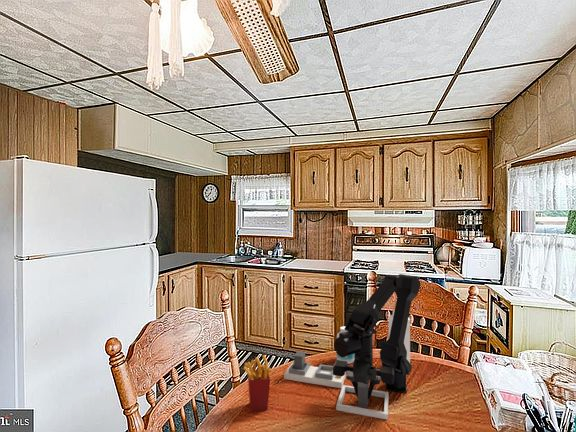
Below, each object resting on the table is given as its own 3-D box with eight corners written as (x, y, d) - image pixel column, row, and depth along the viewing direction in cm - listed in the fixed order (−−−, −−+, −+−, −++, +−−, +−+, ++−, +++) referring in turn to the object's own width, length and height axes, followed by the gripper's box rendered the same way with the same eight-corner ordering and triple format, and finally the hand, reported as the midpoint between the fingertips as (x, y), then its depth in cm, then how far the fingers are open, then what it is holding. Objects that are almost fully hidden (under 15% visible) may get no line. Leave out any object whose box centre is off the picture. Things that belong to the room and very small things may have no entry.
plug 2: (368, 400, 106) (368, 381, 106) (367, 408, 102) (367, 388, 102) (359, 398, 107) (359, 380, 107) (357, 406, 103) (357, 387, 103)
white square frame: (388, 396, 108) (388, 392, 108) (387, 419, 96) (387, 414, 96) (342, 389, 113) (342, 384, 113) (336, 410, 100) (336, 405, 100)
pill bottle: (356, 364, 132) (356, 331, 132) (337, 364, 132) (338, 330, 132) (353, 357, 139) (353, 325, 140) (335, 356, 140) (335, 324, 140)
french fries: (270, 411, 99) (271, 361, 100) (243, 414, 98) (243, 364, 98) (266, 396, 108) (266, 350, 108) (241, 399, 106) (241, 352, 107)
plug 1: (305, 367, 125) (305, 352, 125) (301, 373, 120) (301, 356, 120) (297, 366, 125) (297, 350, 126) (294, 371, 121) (294, 355, 121)
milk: (410, 367, 130) (410, 311, 130) (396, 369, 128) (397, 312, 128) (400, 360, 136) (401, 307, 136) (388, 362, 134) (388, 308, 134)
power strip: (345, 376, 122) (345, 367, 122) (341, 388, 113) (341, 378, 113) (291, 368, 129) (291, 359, 129) (284, 378, 120) (284, 369, 120)
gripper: (329, 355, 100) (329, 406, 100) (393, 363, 94) (393, 418, 94) (336, 342, 110) (335, 388, 110) (394, 349, 104) (394, 398, 104)
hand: (363, 398), depth 104 cm, fingers closed on plug 2, 3 cm apart
